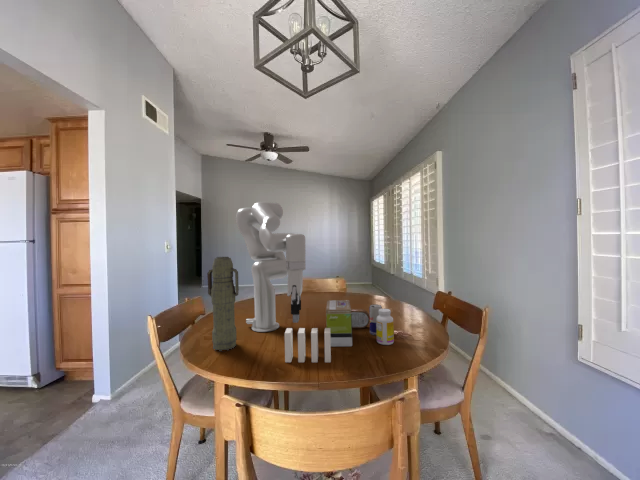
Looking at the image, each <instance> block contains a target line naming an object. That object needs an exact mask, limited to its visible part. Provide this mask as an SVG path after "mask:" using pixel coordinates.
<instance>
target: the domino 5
mask: <svg viewBox="0 0 640 480" xmlns="http://www.w3.org/2000/svg"><path fill="white" fill-rule="evenodd" d="M323 332H324V335H323V336H324V363H331V362H332V355H331V354H332V353H331V351H332V346H331V336H330V328H327V327H325V328H324V331H323Z"/></svg>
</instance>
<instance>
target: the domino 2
mask: <svg viewBox="0 0 640 480" xmlns="http://www.w3.org/2000/svg"><path fill="white" fill-rule="evenodd" d="M296 296H298V294H296ZM296 298H297V297H296ZM299 321H300V314H299V315H292V323H295V324H296V323H299Z"/></svg>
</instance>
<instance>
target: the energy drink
mask: <svg viewBox="0 0 640 480" xmlns="http://www.w3.org/2000/svg"><path fill="white" fill-rule="evenodd" d="M382 307H383V306H382V305H380V304H373V303H372V304H370V305H369V307H368V309H369V312H368V314H369V316H370V322H369V334H370V335H372V336H377V333H376V318H377V316H379V309H383V308H382Z"/></svg>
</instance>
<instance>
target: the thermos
mask: <svg viewBox="0 0 640 480" xmlns="http://www.w3.org/2000/svg"><path fill="white" fill-rule="evenodd" d="M212 262H213V263H212V265H211V266H212V267H211V268H212V269H208V272H207V276H206V277H207V289H208V290H207V295H208V296H209V297H210V298H211V304H212V310H213V311H212V316H213V322H212V323H213V329H212V331H211V333H212V335H211V336H212V338H211V339H212V341H211V342H212V344H213V345H212V349H213V350H214V349H215V350H214V351H216V350H219V351H218V352H223V351H222V350H227V351H230V350H229V349H231V350H233V349H235V348H236V347H237V327H236V324H235V323H236V322H235V321H236V320H235V318H236V317H235V303H236V297H237V296H239V287H240V286H239V271H238V270H237V268H234V263H233V261H232V258H231V257H229V256H217V257H215V258H214V259H213V261H212ZM234 280H235V283H234ZM235 346H236V347H235ZM234 347H235V348H234ZM232 348H233V349H232Z"/></svg>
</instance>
